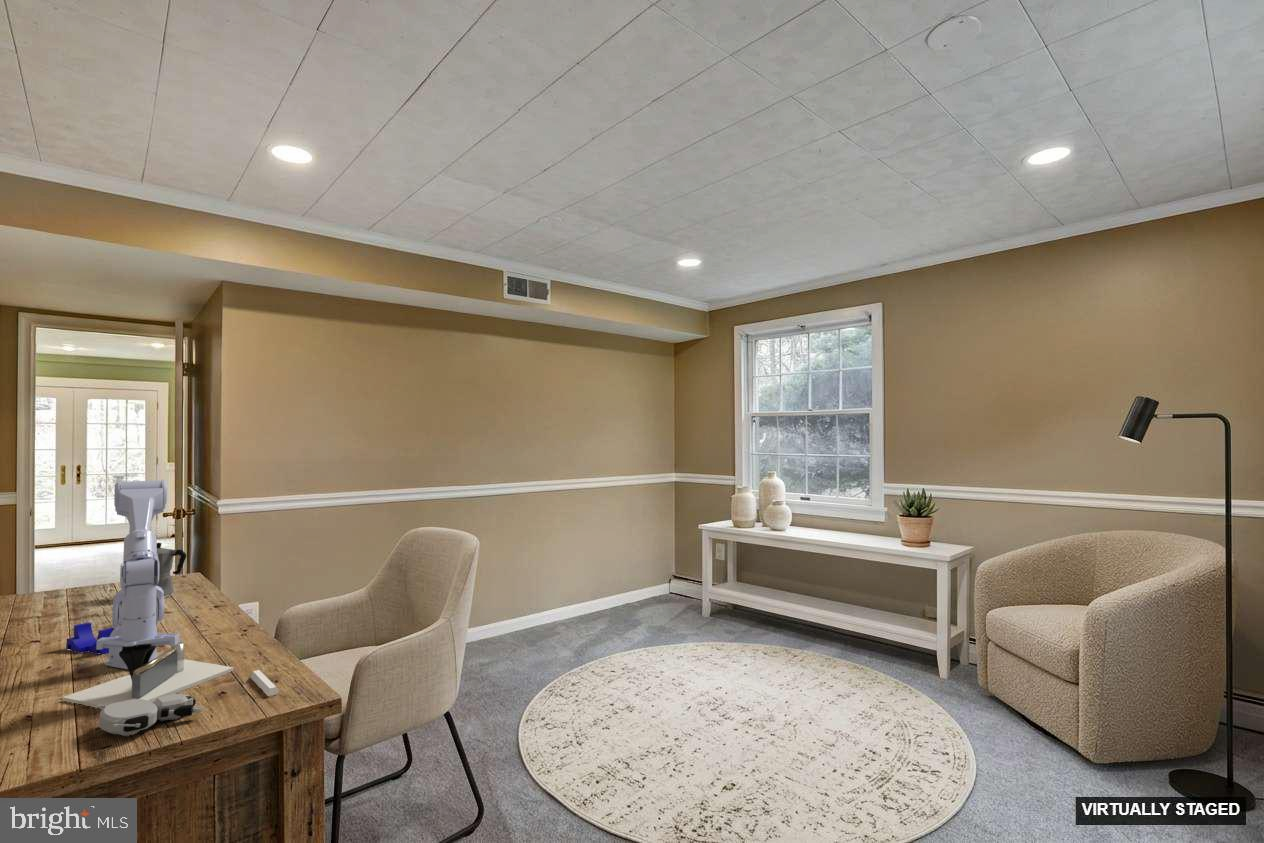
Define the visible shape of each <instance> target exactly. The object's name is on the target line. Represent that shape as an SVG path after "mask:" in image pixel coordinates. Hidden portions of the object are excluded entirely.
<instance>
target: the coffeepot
mask: <svg viewBox="0 0 1264 843" xmlns="http://www.w3.org/2000/svg"><path fill="white" fill-rule="evenodd" d="M157 554H158V560H159V582H158V584H157V579H156V577H154V583H155V584H156V585H157V586H159V587H161V588H162V590H163V592H164V596H166V595H170V594H172V593H173V592H174V593H175V590H174V585H173V580H172V578H173V577H172V576H171V571H172V569H173V563H174V559H175V558H174V557H175V556H180V557H179V559H178V564H177V566H176V567H177V568H176V570H175V571H172V574H173V575H179V574H181V573H182V569H183V566H184V563H185V561H186V558H187V554H186V552H185V551H184V550H183V549H172V548H171V549H170V548H163V547H162V542H157Z"/></svg>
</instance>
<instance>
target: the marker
mask: <svg viewBox="0 0 1264 843" xmlns="http://www.w3.org/2000/svg"><path fill="white" fill-rule="evenodd" d="M249 678H250V679H251V680H252V682H254V684H256V686H258V688H259V689H260V688H261V689H262V690H263V691H262V692H263V693H264V694H265V695H266V696H267V697H268V696H270V695H274V694H277V693H278V694H279V693H280V690H279V688H277V685H275V683H273V682H272V681H271V680H270V679H269V678H268V677H267V676H266V675H265V674H264V673H263V672H262V671H261V670H260V669H257V670H254V671H252V672H251V674H250V676H249ZM261 689H260V690H261Z"/></svg>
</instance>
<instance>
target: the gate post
mask: <svg viewBox="0 0 1264 843" xmlns="http://www.w3.org/2000/svg"><path fill="white" fill-rule="evenodd" d="M172 647H176V648H177V672H176V673H178V672H182V671H183V670H184V659H185V642H183V641H179V643H178V644H176V645H174V646H170V649H171V648H172Z"/></svg>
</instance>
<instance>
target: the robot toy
mask: <svg viewBox="0 0 1264 843" xmlns="http://www.w3.org/2000/svg"><path fill="white" fill-rule="evenodd" d="M196 703H197V701H196V698H195V697H193V696H191V695H189V694H185V693H180V692H178V693H175V694H172V695H167V696H163V697H160V698H157V699H156V700H155V701H154V702H150V701H148V700H144V699H132V700H127V701H122V702H117V703H112V704H110V705H108V706H96V707H97V708H103V709H102V710H101V709H100V713H99V718H98V726H99V727H98V728H100V729H101V730H102V731H104V732H106V733H108V734H112V735H121V736H122V737H129V736H128V735H132V736H134V735H136V734H138V733H139V732H140V731H143V730H147V729H149V728H150V727H152V726H153V725H154V724H155V723H156V722H157V721H158V720H159V721H160V722H163V721H168V720H169V721H170V720H171V721H174V719H175V720H179V719H178V718H181V717H189V716H192V714H193V713H194V714H197V713H201V712H203V708H204V707H203V706H201V705H200V706H199V705H198V706H195V705H196ZM194 706H195V707H194ZM97 708H96V709H97ZM137 732H138V733H137ZM135 733H136V734H135ZM133 734H134V735H133Z"/></svg>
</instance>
